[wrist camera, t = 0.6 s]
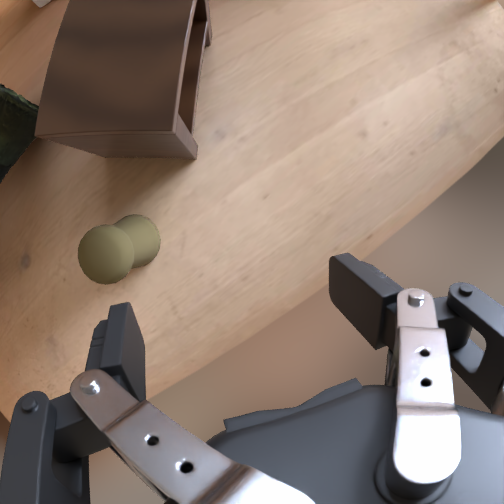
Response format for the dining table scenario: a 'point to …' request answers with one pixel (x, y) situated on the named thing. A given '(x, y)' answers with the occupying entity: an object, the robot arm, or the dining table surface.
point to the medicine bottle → (41, 2)
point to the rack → (126, 78)
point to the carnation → (15, 127)
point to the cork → (118, 248)
